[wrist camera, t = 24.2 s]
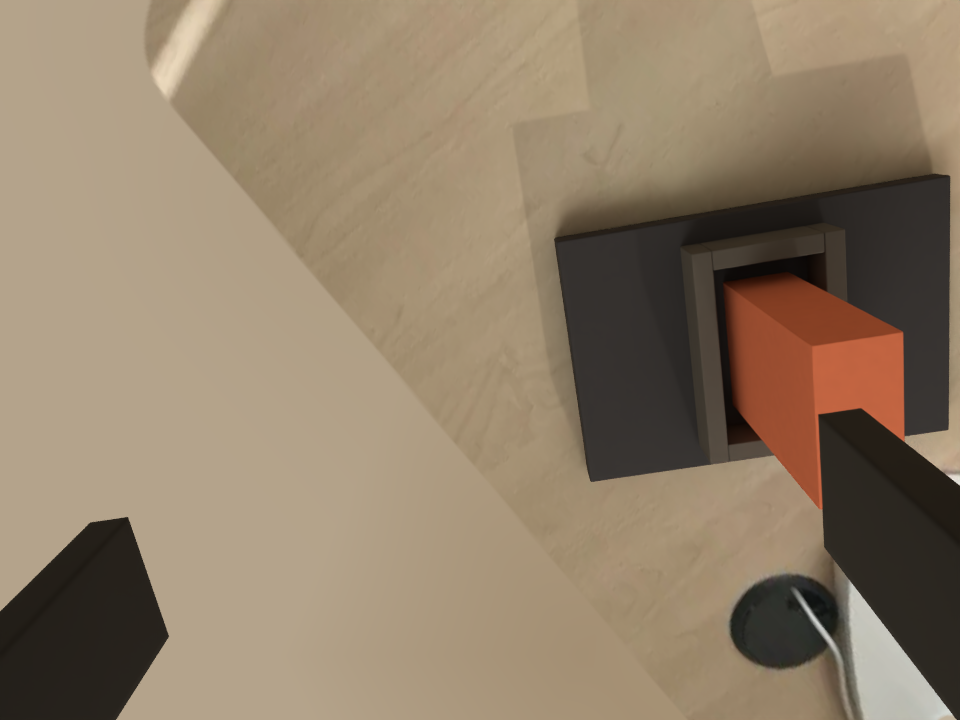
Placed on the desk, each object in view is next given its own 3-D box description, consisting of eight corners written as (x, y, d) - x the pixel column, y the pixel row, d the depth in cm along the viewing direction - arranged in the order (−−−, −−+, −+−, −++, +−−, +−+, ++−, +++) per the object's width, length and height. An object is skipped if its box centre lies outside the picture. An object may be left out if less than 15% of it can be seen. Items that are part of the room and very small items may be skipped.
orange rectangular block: (732, 405, 42) (819, 510, 31) (722, 282, 40) (811, 345, 29) (795, 395, 42) (905, 498, 31) (788, 271, 40) (903, 331, 29)
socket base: (587, 471, 45) (595, 503, 42) (553, 237, 41) (559, 249, 38) (934, 420, 44) (976, 448, 40) (934, 173, 40) (980, 178, 36)
